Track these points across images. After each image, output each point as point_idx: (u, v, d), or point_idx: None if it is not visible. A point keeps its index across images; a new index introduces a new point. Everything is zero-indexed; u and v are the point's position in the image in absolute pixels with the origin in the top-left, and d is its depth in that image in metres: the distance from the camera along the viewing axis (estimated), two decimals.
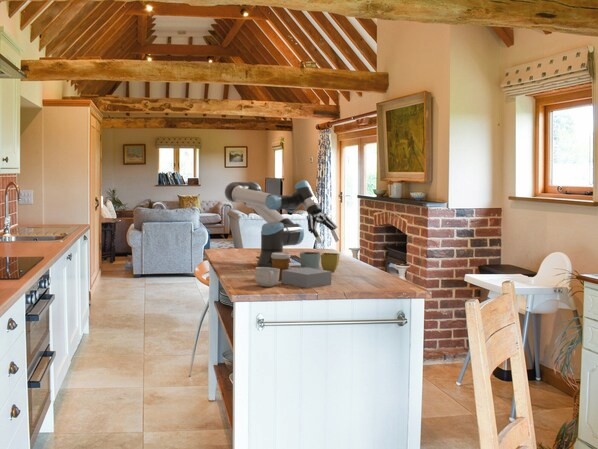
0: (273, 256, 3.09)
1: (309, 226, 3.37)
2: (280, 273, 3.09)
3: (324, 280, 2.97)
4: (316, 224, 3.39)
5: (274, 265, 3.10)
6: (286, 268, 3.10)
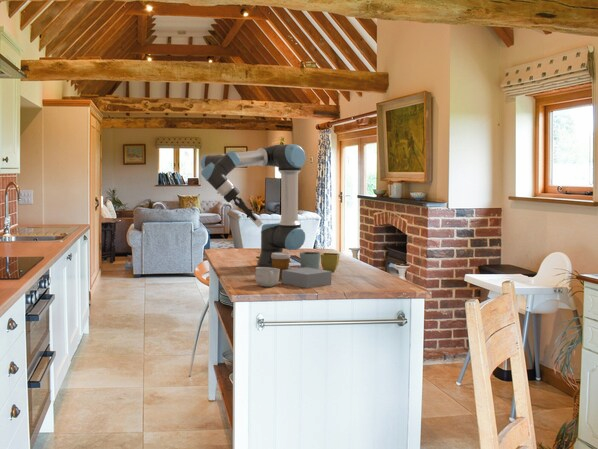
0: (273, 256, 3.09)
1: None
2: (280, 273, 3.09)
3: (324, 280, 2.97)
4: None
5: (274, 265, 3.10)
6: (286, 268, 3.10)
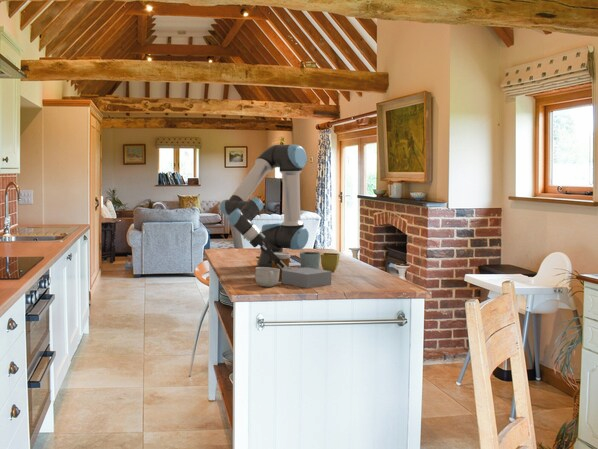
0: None
1: None
2: (280, 273, 3.09)
3: (324, 280, 2.97)
4: None
5: (274, 265, 3.10)
6: None
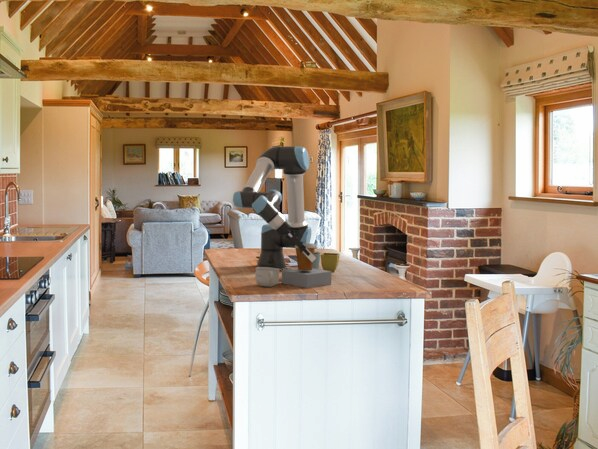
0: None
1: None
2: (305, 263, 2.92)
3: (324, 280, 2.97)
4: None
5: (299, 255, 2.93)
6: None
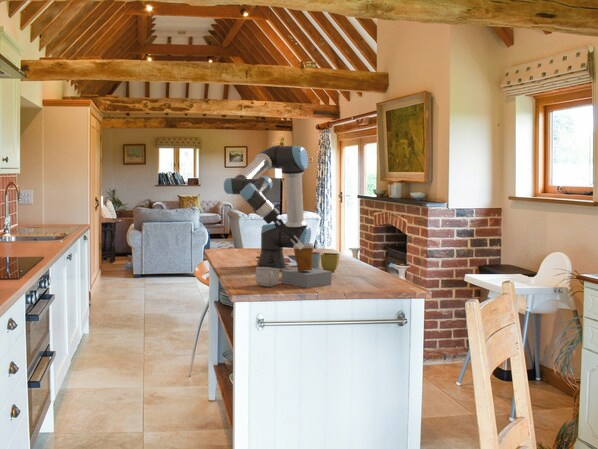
0: (296, 246, 2.93)
1: None
2: (305, 264, 2.92)
3: (324, 280, 2.97)
4: None
5: (297, 256, 2.93)
6: (310, 258, 2.94)
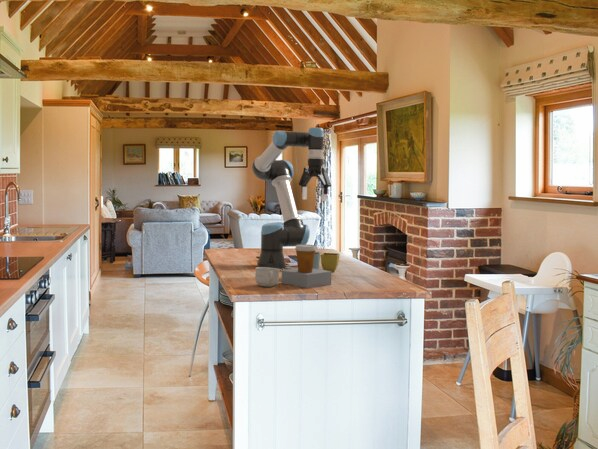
0: (298, 248, 2.92)
1: None
2: (305, 266, 2.92)
3: (324, 280, 2.97)
4: (306, 180, 3.37)
5: (299, 258, 2.92)
6: (311, 261, 2.93)
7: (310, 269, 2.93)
